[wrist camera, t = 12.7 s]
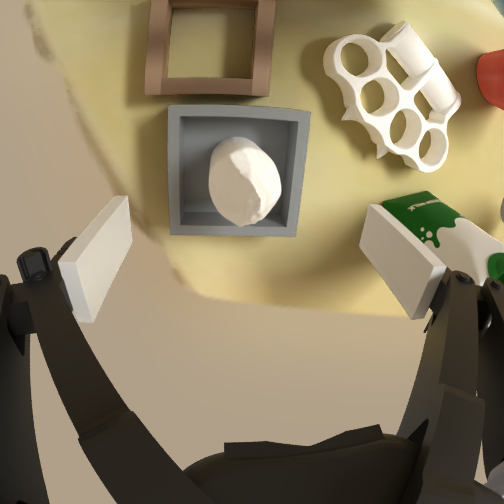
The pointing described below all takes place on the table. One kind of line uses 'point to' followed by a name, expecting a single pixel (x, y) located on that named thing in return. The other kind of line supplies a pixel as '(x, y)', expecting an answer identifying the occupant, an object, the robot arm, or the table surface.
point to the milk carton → (450, 236)
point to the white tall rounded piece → (242, 181)
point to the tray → (198, 164)
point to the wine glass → (502, 210)
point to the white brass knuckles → (398, 94)
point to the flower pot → (492, 77)
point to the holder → (161, 85)
